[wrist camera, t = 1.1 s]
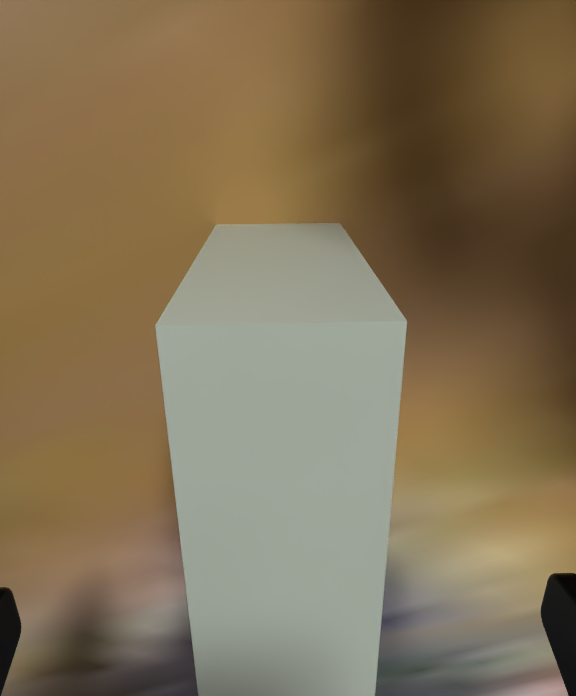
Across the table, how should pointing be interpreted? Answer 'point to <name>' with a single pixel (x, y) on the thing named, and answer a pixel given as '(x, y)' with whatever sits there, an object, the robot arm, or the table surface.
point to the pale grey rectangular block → (283, 457)
